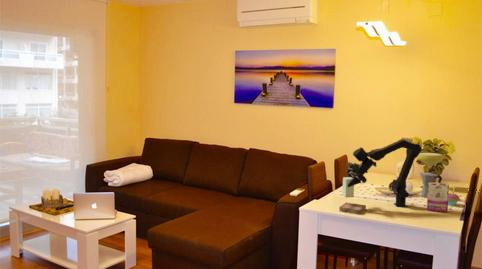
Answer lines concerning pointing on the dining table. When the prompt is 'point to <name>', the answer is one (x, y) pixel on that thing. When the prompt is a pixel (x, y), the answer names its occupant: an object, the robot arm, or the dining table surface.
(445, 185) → the candy bar box
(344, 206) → the walnut base
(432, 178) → the coffeepot
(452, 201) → the cupcake
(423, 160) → the cocktail glass
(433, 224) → the dining table surface
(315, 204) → the dining table surface
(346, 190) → the sage block
